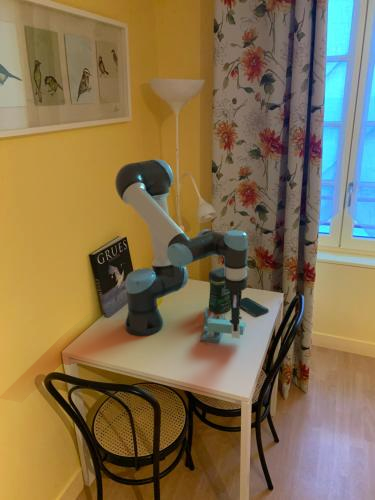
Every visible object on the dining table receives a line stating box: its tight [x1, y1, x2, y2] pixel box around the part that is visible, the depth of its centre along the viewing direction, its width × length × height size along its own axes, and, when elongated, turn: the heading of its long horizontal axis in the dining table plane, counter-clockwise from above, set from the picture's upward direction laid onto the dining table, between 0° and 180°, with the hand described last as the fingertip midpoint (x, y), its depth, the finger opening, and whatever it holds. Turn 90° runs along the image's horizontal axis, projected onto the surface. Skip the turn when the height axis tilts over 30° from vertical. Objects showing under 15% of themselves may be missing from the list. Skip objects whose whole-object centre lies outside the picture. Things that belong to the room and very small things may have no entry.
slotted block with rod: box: [200, 306, 226, 345], centre depth 157 cm, size 8×16×7 cm, turn 164°
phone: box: [240, 297, 270, 318], centre depth 174 cm, size 8×1×15 cm
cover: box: [203, 317, 246, 336], centre depth 149 cm, size 14×7×4 cm, turn 74°
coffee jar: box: [208, 266, 231, 314], centre depth 171 cm, size 10×8×19 cm
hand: (235, 336), depth 143 cm, fingers closed
